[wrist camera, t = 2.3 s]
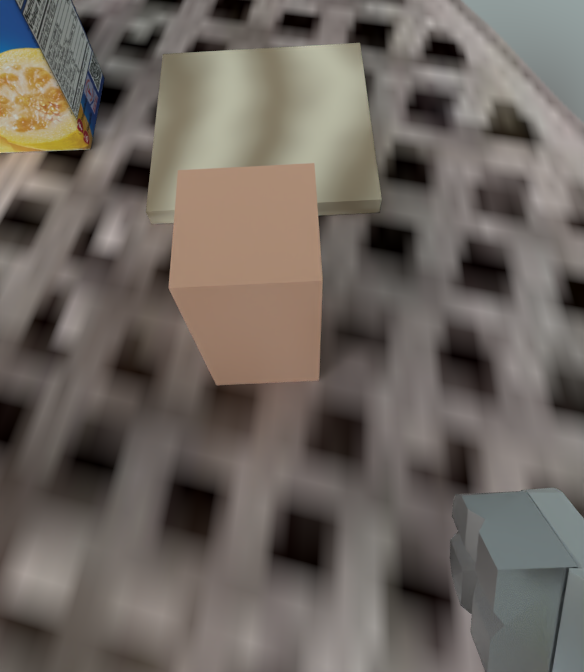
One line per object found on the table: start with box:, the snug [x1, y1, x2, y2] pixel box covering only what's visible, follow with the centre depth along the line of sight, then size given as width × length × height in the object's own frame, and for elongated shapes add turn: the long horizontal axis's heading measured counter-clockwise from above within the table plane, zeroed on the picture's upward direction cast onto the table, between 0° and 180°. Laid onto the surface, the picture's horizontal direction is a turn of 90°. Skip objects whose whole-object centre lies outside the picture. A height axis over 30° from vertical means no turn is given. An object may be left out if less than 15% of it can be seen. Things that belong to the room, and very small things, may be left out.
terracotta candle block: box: [169, 163, 323, 385], centre depth 24 cm, size 5×5×10 cm
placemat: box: [146, 43, 382, 224], centre depth 34 cm, size 14×14×1 cm
